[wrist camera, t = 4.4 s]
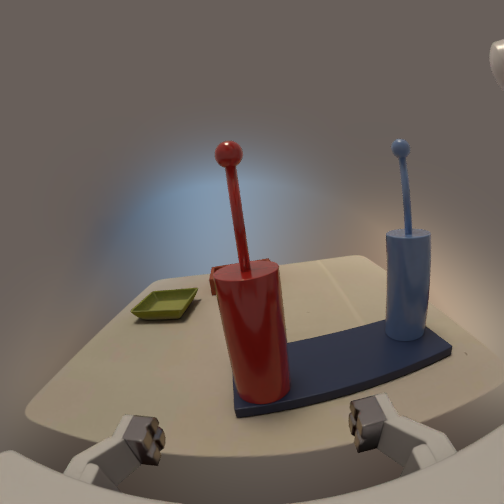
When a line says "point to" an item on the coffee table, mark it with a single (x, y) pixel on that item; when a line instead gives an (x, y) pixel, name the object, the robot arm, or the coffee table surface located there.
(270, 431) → the coffee table surface
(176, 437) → the coffee table surface
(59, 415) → the coffee table surface
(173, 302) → the green tray
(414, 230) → the blue cylinder with rod
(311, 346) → the navy board
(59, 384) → the coffee table surface
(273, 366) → the red ball-topped plunger
